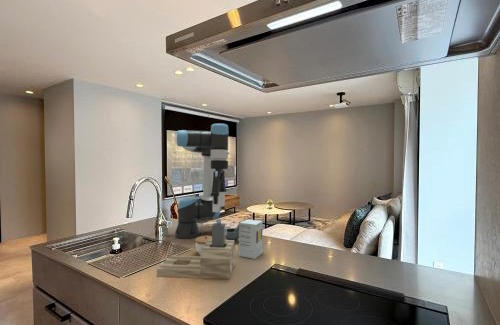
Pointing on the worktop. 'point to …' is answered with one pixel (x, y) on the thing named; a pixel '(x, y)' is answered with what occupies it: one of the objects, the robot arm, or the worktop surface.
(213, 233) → the plug
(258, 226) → the supplement box
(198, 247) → the lidded jar
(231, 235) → the mortar and pestle
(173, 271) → the dock
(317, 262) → the worktop surface
